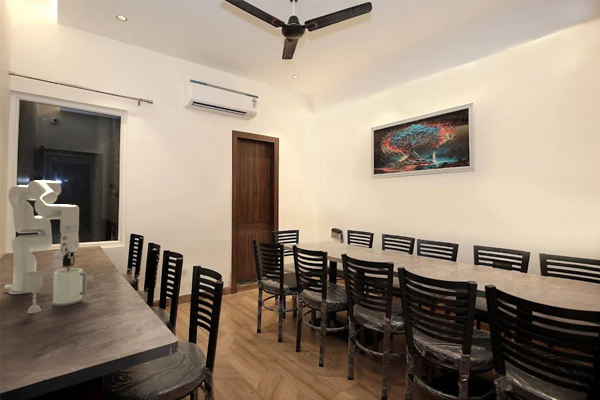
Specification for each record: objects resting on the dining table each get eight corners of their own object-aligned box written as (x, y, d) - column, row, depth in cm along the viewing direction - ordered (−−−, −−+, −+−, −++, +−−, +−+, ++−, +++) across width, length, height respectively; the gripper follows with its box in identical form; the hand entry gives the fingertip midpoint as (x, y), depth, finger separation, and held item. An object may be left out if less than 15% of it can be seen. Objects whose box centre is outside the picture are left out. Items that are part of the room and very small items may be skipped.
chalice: (47, 309, 141) (48, 271, 141) (30, 314, 134) (31, 275, 134) (37, 307, 143) (38, 270, 143) (20, 312, 137) (21, 273, 137)
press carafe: (48, 306, 145) (49, 273, 145) (59, 299, 156) (60, 268, 156) (80, 304, 149) (81, 272, 149) (89, 297, 160) (90, 267, 160)
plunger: (58, 300, 148) (59, 257, 149) (63, 297, 154) (64, 255, 154) (71, 299, 150) (72, 257, 150) (76, 296, 155) (77, 255, 156)
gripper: (71, 230, 145) (70, 268, 145) (84, 227, 161) (83, 261, 161) (52, 230, 143) (51, 269, 143) (68, 228, 159) (67, 262, 159)
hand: (68, 264), depth 152 cm, fingers closed on plunger, 3 cm apart
